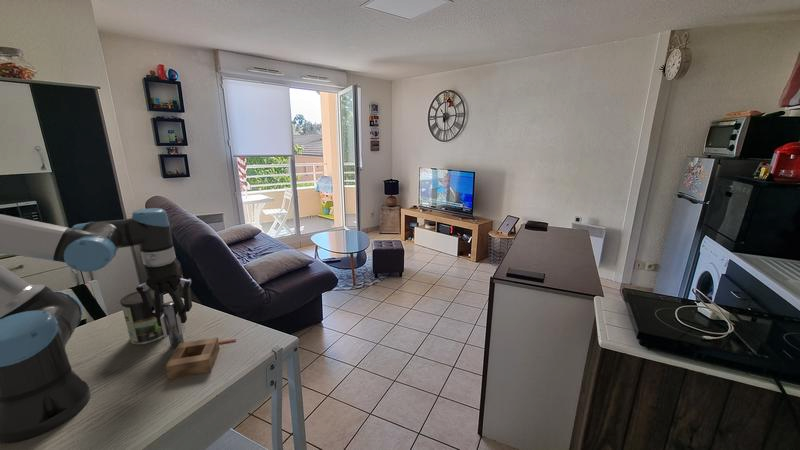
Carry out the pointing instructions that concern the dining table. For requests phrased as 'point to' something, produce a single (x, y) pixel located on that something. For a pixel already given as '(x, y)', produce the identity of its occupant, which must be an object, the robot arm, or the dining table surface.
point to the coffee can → (140, 319)
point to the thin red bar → (227, 341)
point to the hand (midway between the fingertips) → (175, 332)
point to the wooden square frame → (193, 358)
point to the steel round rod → (172, 324)
